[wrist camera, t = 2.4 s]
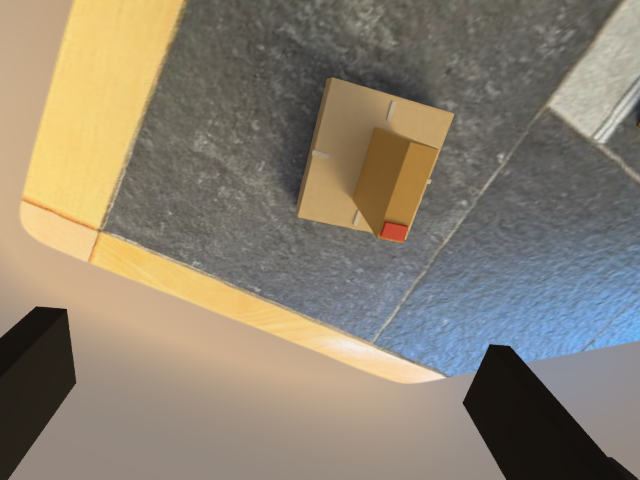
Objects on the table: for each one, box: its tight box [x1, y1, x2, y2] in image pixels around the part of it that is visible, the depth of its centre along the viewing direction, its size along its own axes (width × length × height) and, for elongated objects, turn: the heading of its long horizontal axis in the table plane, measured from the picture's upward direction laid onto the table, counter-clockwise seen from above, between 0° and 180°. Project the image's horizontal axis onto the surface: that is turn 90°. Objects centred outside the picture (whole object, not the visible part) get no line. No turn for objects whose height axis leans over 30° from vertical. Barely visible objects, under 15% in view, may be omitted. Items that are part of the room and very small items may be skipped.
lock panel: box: [296, 77, 454, 240], centre depth 29 cm, size 11×10×3 cm
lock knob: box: [353, 127, 438, 243], centre depth 24 cm, size 6×2×8 cm, turn 165°
